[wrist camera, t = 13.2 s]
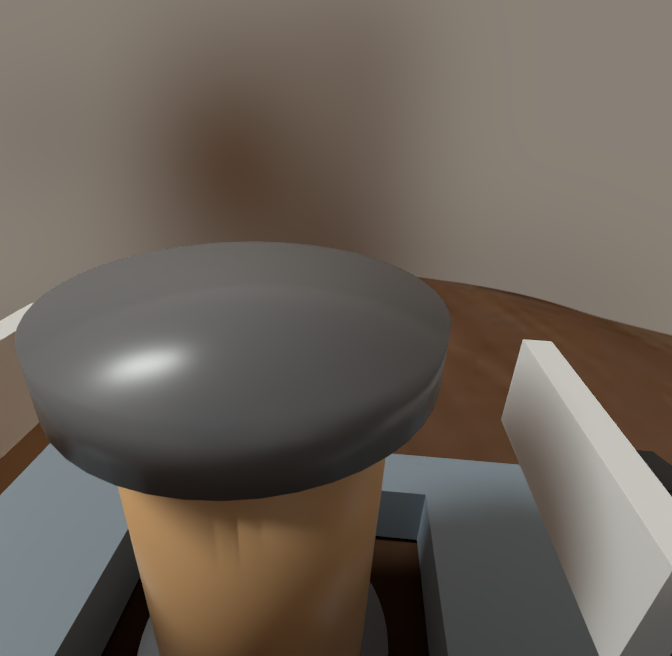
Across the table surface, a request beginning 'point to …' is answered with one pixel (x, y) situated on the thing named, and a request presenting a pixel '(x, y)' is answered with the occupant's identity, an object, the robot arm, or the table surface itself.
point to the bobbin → (242, 430)
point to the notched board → (393, 521)
